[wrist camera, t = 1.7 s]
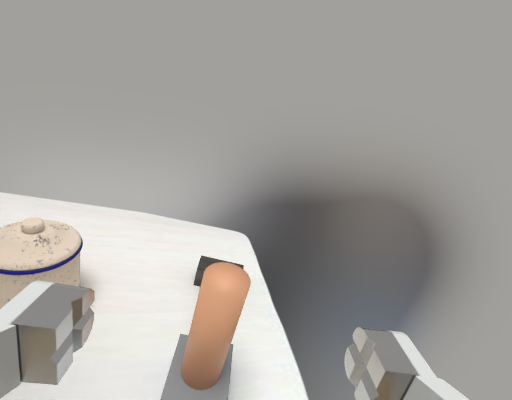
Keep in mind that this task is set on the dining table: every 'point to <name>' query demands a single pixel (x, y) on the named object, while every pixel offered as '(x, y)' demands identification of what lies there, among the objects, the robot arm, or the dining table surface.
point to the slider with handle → (209, 337)
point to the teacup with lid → (37, 255)
